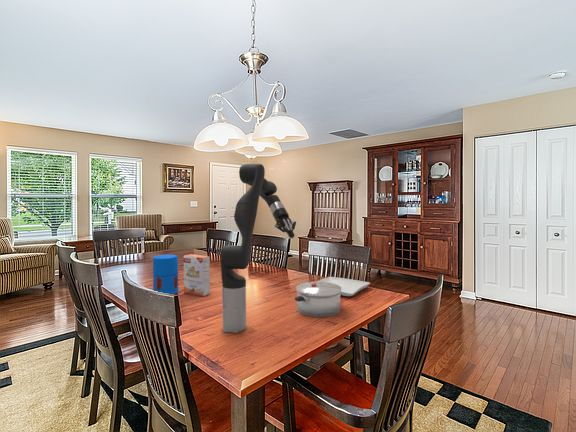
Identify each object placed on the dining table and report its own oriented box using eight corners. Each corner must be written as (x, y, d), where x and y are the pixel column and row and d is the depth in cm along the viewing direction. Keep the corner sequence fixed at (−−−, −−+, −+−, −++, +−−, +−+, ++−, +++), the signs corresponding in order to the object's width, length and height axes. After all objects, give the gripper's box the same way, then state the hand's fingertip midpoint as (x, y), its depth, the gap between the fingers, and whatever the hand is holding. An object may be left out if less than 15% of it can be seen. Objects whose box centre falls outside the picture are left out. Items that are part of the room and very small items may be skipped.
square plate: (370, 288, 185) (371, 281, 185) (352, 300, 162) (352, 293, 162) (329, 281, 200) (329, 275, 200) (307, 291, 178) (307, 285, 177)
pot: (283, 308, 149) (283, 290, 148) (324, 298, 164) (324, 281, 163) (311, 322, 132) (311, 301, 132) (353, 309, 148) (353, 290, 147)
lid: (286, 288, 150) (286, 283, 150) (319, 281, 163) (319, 277, 163) (316, 300, 133) (316, 295, 133) (351, 291, 145) (351, 286, 145)
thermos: (170, 314, 141) (169, 259, 139) (148, 313, 143) (147, 258, 141) (183, 306, 151) (182, 255, 150) (162, 305, 153) (161, 254, 152)
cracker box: (183, 293, 173) (182, 255, 172) (191, 290, 178) (191, 253, 177) (202, 297, 166) (202, 257, 165) (210, 294, 172) (210, 255, 171)
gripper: (271, 207, 162) (284, 233, 153) (292, 206, 170) (306, 231, 160) (265, 217, 167) (278, 243, 157) (286, 216, 174) (299, 240, 165)
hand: (292, 237), depth 159 cm, fingers closed
